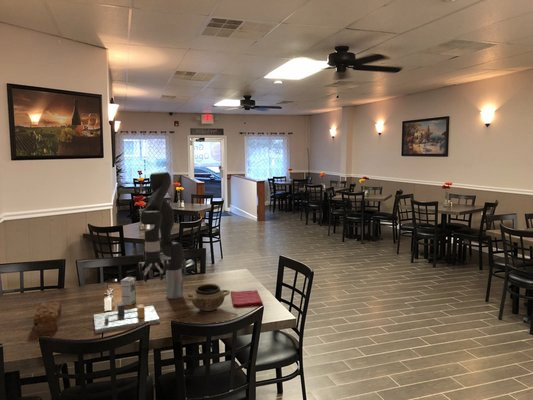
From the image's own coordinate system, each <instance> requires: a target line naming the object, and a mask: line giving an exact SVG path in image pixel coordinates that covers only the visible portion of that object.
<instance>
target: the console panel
mask: <svg viewBox="0 0 533 400" xmlns="http://www.w3.org/2000/svg"><path fill="white" fill-rule="evenodd" d="M116 305H117V311H109V312H104V313H103V312H102V313H101V312H100V313H97V314H93V321H94V322H93V323H94V332H95V334H100V333H107V332H113V331H119V330H124V329H130V328H134V327H135V328H136V327H139V326H138V325H140V324H143V323H145V322H149V323H150V324H149V325H153V324H152V323H154V324H158V323H159V324H160V317H159V315H158V313H157V311H156V308H155V307H154V305H148V306H144V310H145V317H142V318H138V315H137V307H135V308H128V309H125V305H124V303H123V302H122V301H121V302H117V303H116Z"/></svg>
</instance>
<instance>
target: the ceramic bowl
mask: <svg viewBox="0 0 533 400" xmlns="http://www.w3.org/2000/svg"><path fill="white" fill-rule="evenodd" d="M229 294H231V291H230V290H228V289H221V288H220V286H219V285H217V284H214V283H205V284H204V283H203V284H200V285H197V286H196V287H195V290H194V291H193V292H192V293H189V294H186V295H185V297H184V299H185V300H186V301H189V302H190V301H191V303H192V305H194V306H195V308H196V309H198V311H199V312H200V313H201V314H213V313H215V312H217V310H218V308H219V307H221V306H222V304H224V301H225V297H226V296H229Z"/></svg>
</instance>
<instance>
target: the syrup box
mask: <svg viewBox="0 0 533 400" xmlns="http://www.w3.org/2000/svg"><path fill="white" fill-rule="evenodd" d="M120 290H121V302H123V303H124V306H132V305H133V304H135V303H136V302H137V294H136V292H137V291H136V278H135V277H130V276H128V277H127V276H126V277H125V278H123V279H121V280H120Z"/></svg>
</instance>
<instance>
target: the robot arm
mask: <svg viewBox="0 0 533 400" xmlns="http://www.w3.org/2000/svg"><path fill="white" fill-rule="evenodd" d="M149 183H150V188H151V191H152V194H151V195H150V197H149V199H148V203H147V205H146V206H145V207H144V209H143V210H142V212H141V213H140V216H139V220H140V222H141V224H142V225H147V226H150V225H151V226H154V227H153V228H149V229H145V231H144V261H142V262H141V261H139V262H138V269H139V270H138V273H139V275H142V276H143V281H144V282H145V283H147V282H148V277H147V274H148V272H149V271H152V270H158V271H159V280H160V281H162V280H164V273H165V288H166V298H167V299H169V300H175V299H179V298H184V281H183V279H182V278H183V277H182V276H183V275H182V273H183V272H182V269H183V267H182V265H183V263H184V261H183V258H184V257H183V255H184V249H183V245H182V244H181V243H180V242H177V241H173V239H172V229H173V227H174V224H175V214H174V210H173V209H174V208H172V206H171V205H170V204H169V203H168V201H166V199H165V197H166V195H167V193H168V191H169V189H170V188H171V185H172V177H171V174H170V173H169V172H168V171H160V172H152V173H150V175H149ZM160 239H161V240H160ZM160 242H161V243H160ZM161 251H162V255H164V256H165V257H168V258H170V262H168V261H167V260H166V259H161ZM167 262H168V263H167ZM161 264H162V265H163V269H162V268H161V267H160V265H161ZM144 265H145V266H146V267H145V269H144V271H143V267H144Z"/></svg>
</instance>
